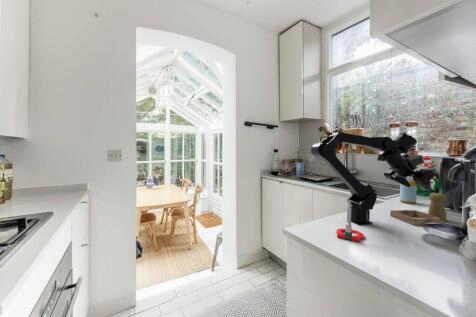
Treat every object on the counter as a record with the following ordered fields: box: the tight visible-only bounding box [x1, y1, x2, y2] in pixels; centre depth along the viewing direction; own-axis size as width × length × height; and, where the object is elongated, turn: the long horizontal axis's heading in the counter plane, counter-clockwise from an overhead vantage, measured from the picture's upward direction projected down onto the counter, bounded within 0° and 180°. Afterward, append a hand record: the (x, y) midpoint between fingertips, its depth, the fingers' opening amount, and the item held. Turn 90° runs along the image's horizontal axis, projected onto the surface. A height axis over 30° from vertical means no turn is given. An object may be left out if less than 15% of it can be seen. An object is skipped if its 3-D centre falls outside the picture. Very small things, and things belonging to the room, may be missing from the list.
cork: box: [427, 192, 448, 223], centre depth 87 cm, size 6×6×11 cm
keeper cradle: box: [389, 209, 443, 227], centre depth 87 cm, size 12×12×2 cm
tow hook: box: [335, 201, 365, 243], centre depth 72 cm, size 8×13×9 cm
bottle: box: [399, 176, 418, 205], centre depth 114 cm, size 7×7×15 cm
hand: (419, 188), depth 86 cm, fingers open, 9 cm apart
